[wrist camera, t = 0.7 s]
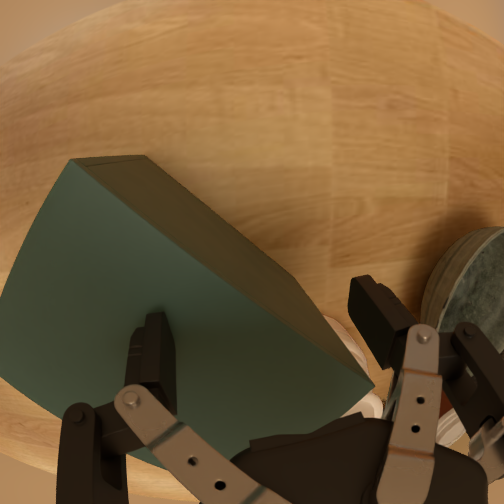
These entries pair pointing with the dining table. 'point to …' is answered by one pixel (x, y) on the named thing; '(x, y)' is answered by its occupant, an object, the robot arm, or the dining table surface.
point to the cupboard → (167, 310)
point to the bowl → (469, 286)
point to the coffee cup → (448, 423)
